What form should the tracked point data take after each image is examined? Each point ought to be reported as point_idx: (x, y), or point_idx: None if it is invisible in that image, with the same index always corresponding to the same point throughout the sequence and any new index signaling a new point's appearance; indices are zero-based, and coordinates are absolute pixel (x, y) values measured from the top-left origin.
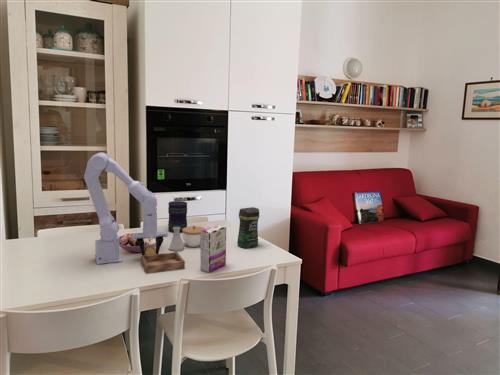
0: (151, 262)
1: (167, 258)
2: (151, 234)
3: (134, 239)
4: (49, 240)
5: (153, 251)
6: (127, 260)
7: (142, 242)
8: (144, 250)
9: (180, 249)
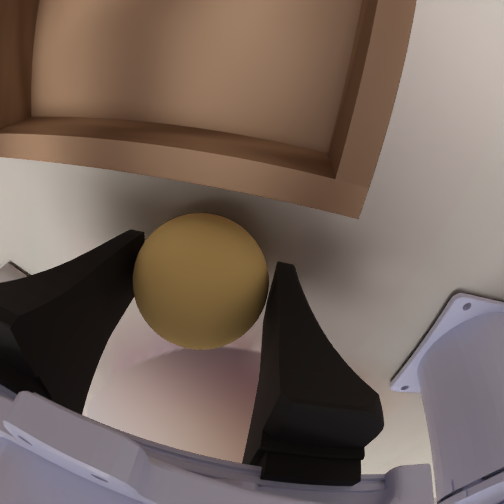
0: (248, 112)
1: (75, 120)
2: (62, 494)
3: (406, 473)
4: (435, 490)
5: (164, 246)
6: (405, 295)
7: (317, 396)
8: (252, 324)
9: (2, 270)
